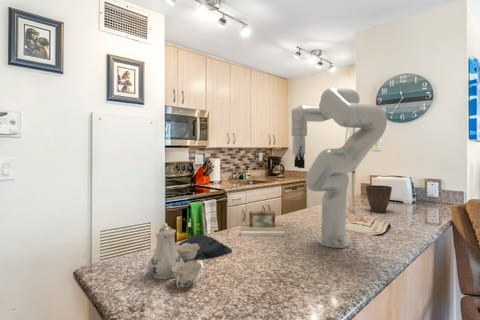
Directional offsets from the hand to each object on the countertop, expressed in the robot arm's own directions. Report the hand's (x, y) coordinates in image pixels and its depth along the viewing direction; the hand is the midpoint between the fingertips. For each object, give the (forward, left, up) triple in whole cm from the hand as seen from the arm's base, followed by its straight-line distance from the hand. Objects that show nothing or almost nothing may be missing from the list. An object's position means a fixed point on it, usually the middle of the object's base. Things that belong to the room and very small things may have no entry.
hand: (299, 167), depth 141 cm
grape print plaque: (+5, -30, -31) cm, 44 cm away
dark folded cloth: (-31, +43, -31) cm, 61 cm away
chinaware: (-54, +48, -31) cm, 78 cm away
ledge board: (-8, +19, -30) cm, 37 cm away
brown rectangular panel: (-8, +19, -29) cm, 35 cm away
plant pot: (+38, -56, -31) cm, 74 cm away
